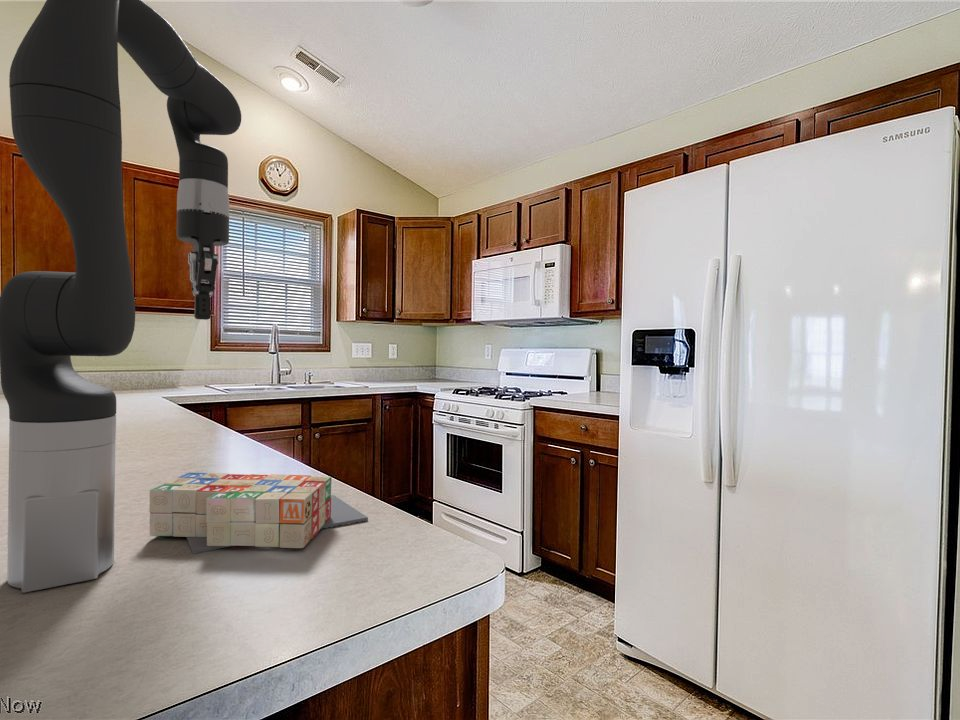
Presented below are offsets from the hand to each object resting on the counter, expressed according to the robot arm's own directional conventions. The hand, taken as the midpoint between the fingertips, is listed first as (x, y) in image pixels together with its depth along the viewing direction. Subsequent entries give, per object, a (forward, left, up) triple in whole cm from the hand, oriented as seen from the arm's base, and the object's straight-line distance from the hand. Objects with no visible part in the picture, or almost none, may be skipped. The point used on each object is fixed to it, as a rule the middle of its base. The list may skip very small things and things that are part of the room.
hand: (202, 319), depth 84 cm
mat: (-17, -7, -30) cm, 35 cm away
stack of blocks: (-15, -6, -26) cm, 31 cm away
